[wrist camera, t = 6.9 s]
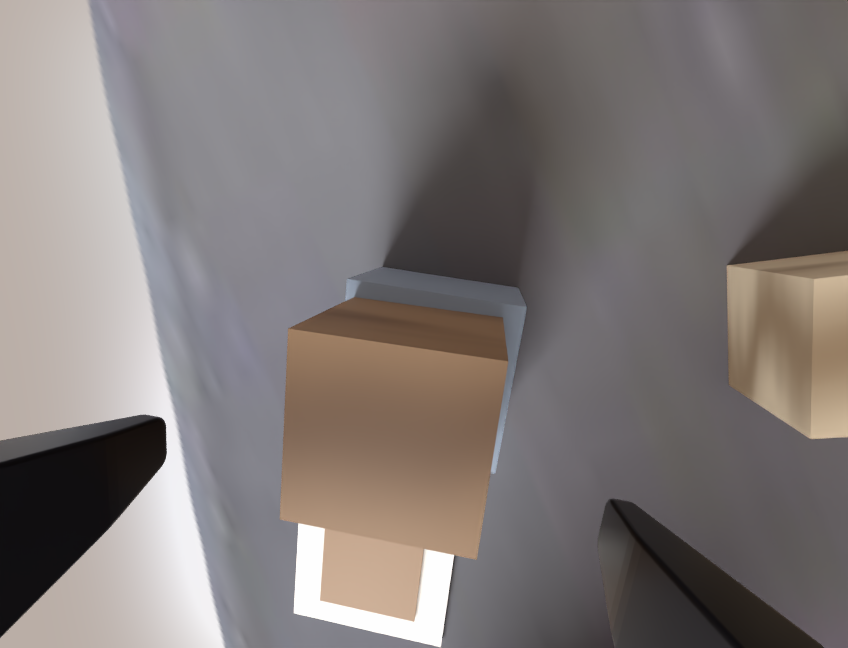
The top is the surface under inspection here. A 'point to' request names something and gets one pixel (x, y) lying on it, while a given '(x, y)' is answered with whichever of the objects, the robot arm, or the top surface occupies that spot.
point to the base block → (451, 297)
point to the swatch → (372, 584)
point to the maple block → (792, 339)
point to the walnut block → (393, 422)
